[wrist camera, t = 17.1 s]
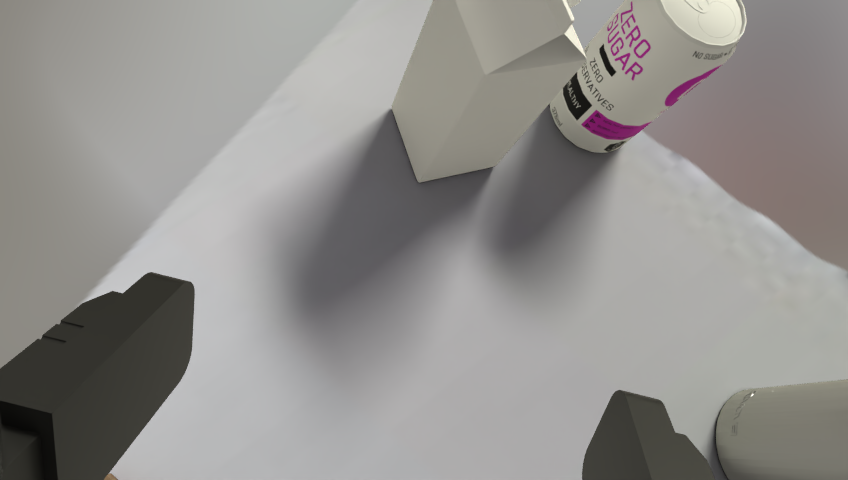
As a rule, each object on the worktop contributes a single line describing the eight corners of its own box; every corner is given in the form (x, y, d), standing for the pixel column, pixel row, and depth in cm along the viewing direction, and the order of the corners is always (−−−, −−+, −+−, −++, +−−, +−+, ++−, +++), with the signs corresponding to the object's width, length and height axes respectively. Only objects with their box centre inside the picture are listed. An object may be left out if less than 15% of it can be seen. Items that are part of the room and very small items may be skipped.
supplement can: (642, 123, 54) (772, 16, 40) (593, 173, 50) (717, 74, 37) (581, 62, 54) (689, -65, 40) (528, 108, 51) (627, -14, 37)
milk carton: (417, 184, 45) (514, 27, 28) (390, 106, 47) (465, -87, 30) (495, 167, 48) (628, 14, 30) (466, 94, 49) (577, -91, 32)
